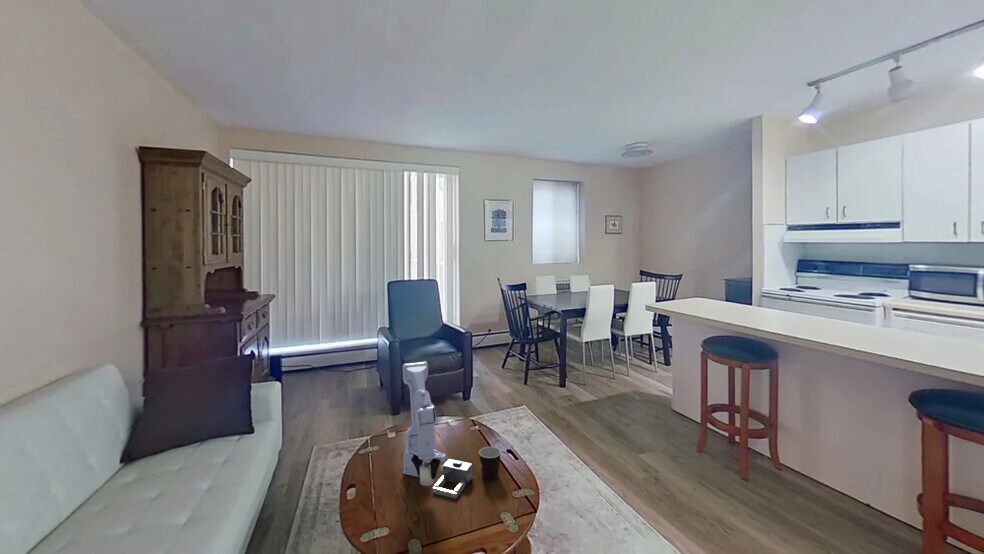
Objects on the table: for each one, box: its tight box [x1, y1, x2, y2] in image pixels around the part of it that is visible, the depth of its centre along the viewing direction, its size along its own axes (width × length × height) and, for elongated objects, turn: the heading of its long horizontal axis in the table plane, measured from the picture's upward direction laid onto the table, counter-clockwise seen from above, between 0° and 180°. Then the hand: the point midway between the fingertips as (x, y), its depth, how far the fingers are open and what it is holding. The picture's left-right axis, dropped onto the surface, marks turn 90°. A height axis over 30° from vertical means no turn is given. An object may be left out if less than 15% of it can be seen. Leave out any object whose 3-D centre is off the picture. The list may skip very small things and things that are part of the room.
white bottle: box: [419, 460, 435, 487], centre depth 141 cm, size 5×5×7 cm
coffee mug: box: [478, 446, 502, 482], centre depth 156 cm, size 12×9×10 cm
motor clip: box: [432, 458, 473, 500], centre depth 149 cm, size 12×14×7 cm
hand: (427, 476), depth 141 cm, fingers closed on white bottle, 5 cm apart
